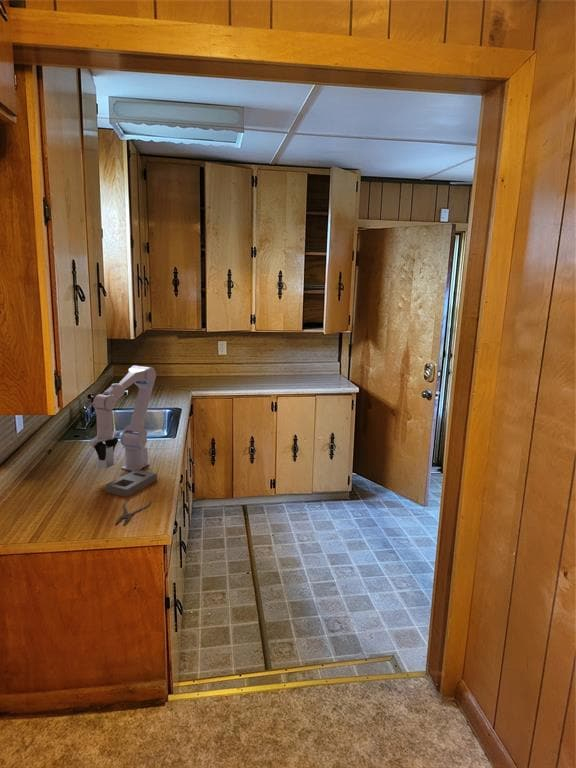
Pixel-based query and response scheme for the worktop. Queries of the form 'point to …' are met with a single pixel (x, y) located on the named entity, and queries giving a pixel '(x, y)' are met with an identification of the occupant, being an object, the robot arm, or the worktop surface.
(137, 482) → the socket plate
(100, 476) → the worktop surface
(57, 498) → the worktop surface
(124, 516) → the pliers
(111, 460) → the peg
